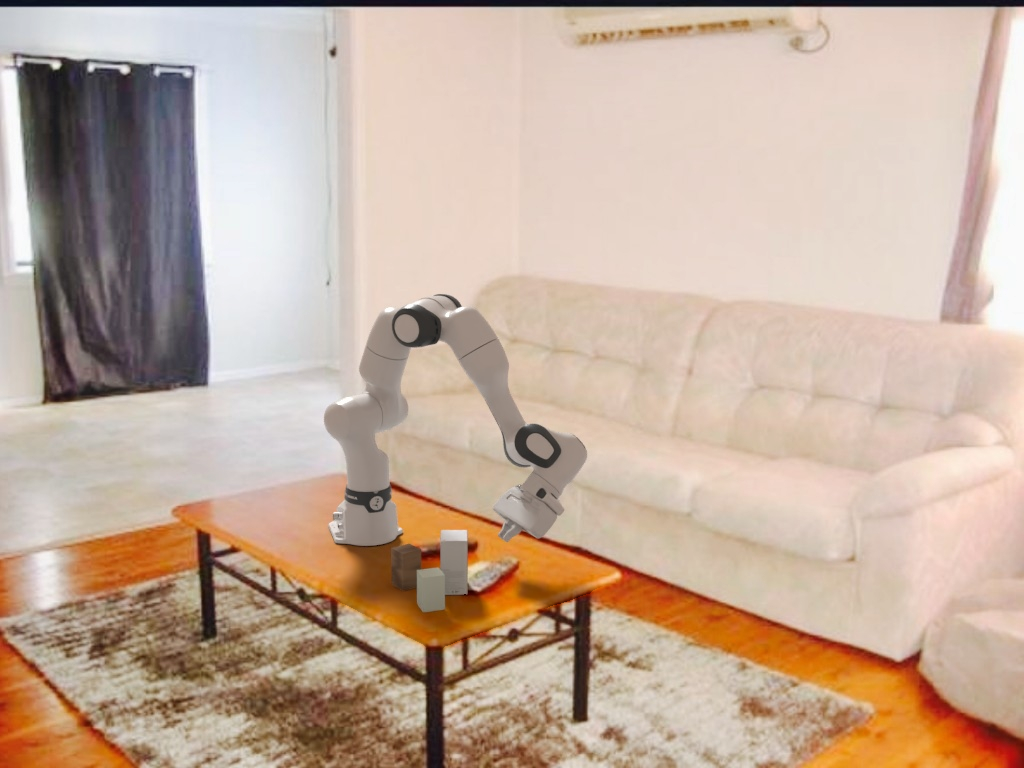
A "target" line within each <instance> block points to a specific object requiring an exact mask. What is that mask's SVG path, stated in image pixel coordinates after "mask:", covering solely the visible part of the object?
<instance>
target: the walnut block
mask: <svg viewBox="0 0 1024 768" xmlns="http://www.w3.org/2000/svg"><path fill="white" fill-rule="evenodd" d="M390 552H391V556H390V557H391V560H390V561H391V564H390V565H391V585H392V586H393V587H396V588H397V589H398V590H401V591H402V592H404V591H408V590H412V589H415V588H416V589H417V570H421V569H422V549H421V548H419V547H418V546H415V545H413V544H412V543H406V544H402V545H397V546H393V547H391V548H390Z"/></svg>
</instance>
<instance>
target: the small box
mask: <svg viewBox="0 0 1024 768" xmlns="http://www.w3.org/2000/svg"><path fill="white" fill-rule="evenodd" d="M468 536H469V535H468V529H441V530H440V537H439V538H440V543H439V544H440V547H439V548H440V549H439V550H440V554H439V555H440V557H439V558H440V563H439V564H440V565H439V567H440V568H439V569H440V570H441V571H442V572H443V574H444V575H445V596H456V595H457V596H459V595H460V596H461V595H464V594H466V595H468V594H469V593H468V590H469V587H468V585H469V584H468V581H469V579H468V577H469V575H468V571H469V570H468V567H469V566H468V563H469V562H468V559H469V555H468V554H469V553H468V552H469V551H468V550H469V549H468V547H469V538H468Z"/></svg>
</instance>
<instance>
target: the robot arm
mask: <svg viewBox="0 0 1024 768" xmlns="http://www.w3.org/2000/svg"><path fill="white" fill-rule="evenodd" d="M372 325H373V326H371V329H370V332H369V334H368V337H367V339H366V342H365V343H366V344H365V347H364V349H363V353H362V357H361V359H360V362H359V366H358V371H359V374H360V376H361V378H362V379H363V381H364V382H366V383H365V389H364V390H363V392H362V393H359V394H354V395H350V396H345V397H342V398H340V399H338V400H336V401H334V402H332V403H331V404H329V405H328V406H327V407H326V409H325V411H324V415H323V423H324V424H323V425H324V427H325V430H326V432H327V433H328V434H329V435H330V437H332V438H333V439H335V440H336V441H337V442H338V443H339V445H340V447H341V449H342V451H343V455H344V458H345V465H346V467H345V468H346V485H345V490H344V499H343V501H341V503H339V505H338V506H336V511H333V512H332V521H331V522H328V529H329V533H330V534H331V536H332V539H333V541H334V543H335V544H344V545H345V544H347V545H353V546H361V547H364V546H365V547H368V546H369V547H370V546H377V545H378V546H379V545H383V544H384V545H385V544H388V543H390V542H393V541H394V540H396V538H397V537H398V536H399V535H402V534H403V533H404V530H403V528H402V527H400V526H399V523H398V522H399V521H398V511H397V510H398V509H397V504H396V503H395V502H394V501H392V493H393V491H392V485H391V484H390V457H389V456H388V454H387V453H386V452H385V451H383V449H380V448H379V447H378V445H377V441H376V434H380V433H383V432H386V431H387V432H388V431H390V430H392V429H394V428H396V427H398V426H399V425H401V424H403V422H405V421H406V419H407V417H408V416H409V405H408V404H409V403H408V401H407V399H406V397H405V395H404V394H403V393H402V390H401V389H402V387H401V385H402V379H403V376H404V372H405V368H406V365H407V361H408V359H409V357H410V352H411V349H412V348H424V347H428V346H432V345H437V344H438V343H439V342H442V343H445V344H446V345H447V346H449V348H450V349H451V351H452V352H453V354H454V356H455V357H456V359H457V361H458V362H459V364H460V367H461V368H462V369H463V371H464V372H465V374H466V375H467V377H468V379H469V380H470V381H471V382H472V384H473V385H474V386H475V388H476V389H477V391H478V392H479V394H480V395H481V397H482V398H483V399H484V401H485V403H486V405H487V407H488V409H489V411H490V412H491V414H492V417H493V418H494V420H495V422H496V424H497V426H498V428H499V430H500V432H501V436H502V442H503V444H502V445H503V452H504V455H505V456H506V458H507V460H508V461H509V462H510V463H511V464H512V465H514V466H515V467H519V468H530V467H531V468H533V469H532V472H530V474H529V475H528V477H527V478H526V479H525V481H524V482H523V483H521V484H517V485H513V486H512V487H510V488H508V489H507V490H506V491H505V492H504V493H503V494H502V495H501V496H500V497H499V498H498V499H497V500H496V502H495V503H493V506H492V507H493V508H492V510H493V512H495V513H496V515H498V516H499V517H501V518H503V519H504V521H503V523H502V524H503V525H502V526H501V529H500V531H499V532H498V534H497V537H498V538H500V539H501V540H502V541H504V542H506V543H509V542H510V540H511V539H512V538H514V537H515V536H517V535H519V534H520V533H521V532H522V531H524V532H526V534H527V533H528V534H529V535H531V536H533V537H535V538H536V539H541V538H543V537H544V536H545V535H546V534H548V532H549V530H550V529H551V528H552V527H553V526H554V524H555V522H556V521H557V519H558V516H559V517H560V516H561V515H562V514H563V513H564V511H565V507H564V506H563V504H562V503H561V501H560V500H559V498H560V497H561V496H562V494H563V492H564V489H565V488H566V487H567V486H568V485H569V484H571V483H572V482H573V481H574V479H575V478H576V477H577V475H578V474H579V473H580V471H581V469H582V468H583V467H584V465H585V463H586V461H587V458H588V451H587V448H586V446H585V445H584V444H583V442H582V441H581V440H580V439H579V438H578V437H577V436H576V435H575V434H573V433H571V432H560V431H556V430H553V429H550V428H549V427H548V428H547V427H545V426H543V425H542V424H538V423H527V422H526V420H525V418H523V415H522V414H521V412H520V410H519V408H518V406H517V404H516V402H515V400H514V399H513V396H512V394H511V392H510V389H509V382H508V381H509V379H508V378H509V368H510V364H509V362H510V361H509V359H508V356H507V354H506V351H505V349H504V347H503V344H502V342H501V341H500V339H499V337H498V336H497V334H496V333H495V331H494V329H493V328H492V326H491V325H490V324H489V322H488V321H487V319H486V318H485V317H484V316H483V314H482V313H481V312H480V311H479V310H478V309H477V308H475V307H474V306H471V305H465V306H463V305H462V304H461V302H460V301H459V300H458V299H457V298H456V297H454V296H453V295H450V294H446V293H438V294H434V295H430V296H424V297H423V298H422V297H421V298H419V299H417V300H416V301H413V302H411V303H407V304H405V305H404V306H402V307H396V306H389V307H386V308H384V309H382V310H381V311H380V312H379V313H378V315H377V317H376V319H375V321H374V323H373V324H372Z"/></svg>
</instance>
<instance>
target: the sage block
mask: <svg viewBox="0 0 1024 768" xmlns="http://www.w3.org/2000/svg"><path fill="white" fill-rule="evenodd" d="M439 567H440V566H439ZM439 567H438V566H437V567H431V568H430V567H429V568H424V569H422V568H421V570H417V587H416V605H418V608H419V609H420V610H421V611H422V613H429V612H430V613H431V612H434V611H442V610H446V595H445V575H444V574H443V572H442V571H441V570H440V568H439Z"/></svg>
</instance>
